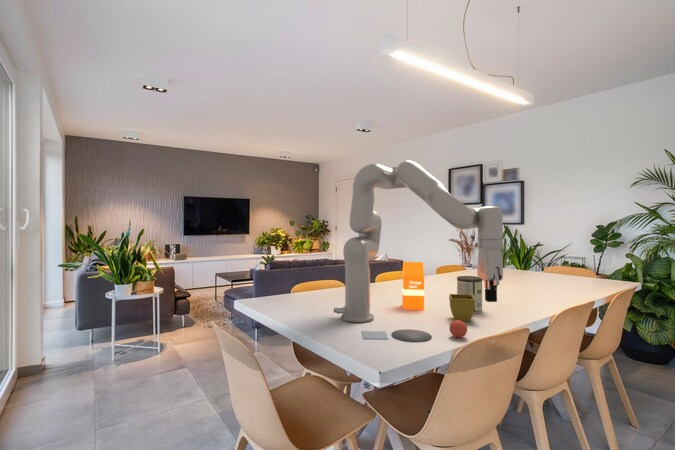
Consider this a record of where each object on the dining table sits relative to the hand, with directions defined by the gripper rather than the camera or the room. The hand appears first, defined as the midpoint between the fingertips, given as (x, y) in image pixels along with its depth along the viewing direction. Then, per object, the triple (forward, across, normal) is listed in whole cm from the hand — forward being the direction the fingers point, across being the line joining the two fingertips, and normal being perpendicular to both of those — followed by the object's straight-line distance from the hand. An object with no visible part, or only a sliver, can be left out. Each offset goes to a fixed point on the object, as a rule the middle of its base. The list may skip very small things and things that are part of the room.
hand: (491, 301), depth 119 cm
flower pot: (+12, -22, -3) cm, 25 cm away
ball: (+9, 0, -11) cm, 14 cm away
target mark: (+11, -1, -26) cm, 28 cm away
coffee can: (+12, -37, +5) cm, 40 cm away
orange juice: (+12, -42, -18) cm, 47 cm away
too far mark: (+11, -1, -38) cm, 39 cm away
